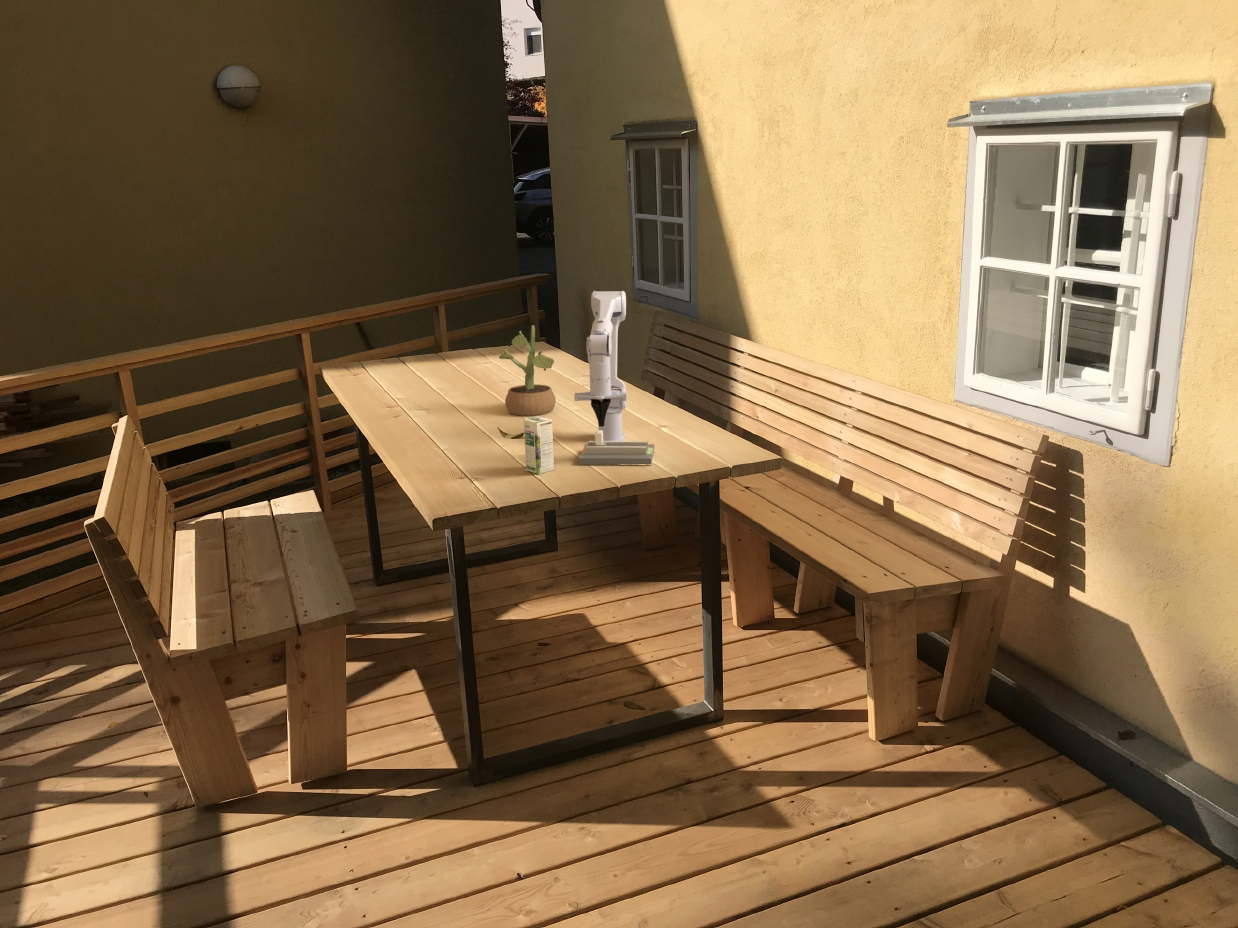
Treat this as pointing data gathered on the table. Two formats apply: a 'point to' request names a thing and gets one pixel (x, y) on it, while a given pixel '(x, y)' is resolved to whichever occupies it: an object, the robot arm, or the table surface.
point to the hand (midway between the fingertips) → (601, 425)
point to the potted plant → (529, 382)
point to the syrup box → (538, 444)
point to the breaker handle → (599, 439)
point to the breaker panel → (617, 453)
